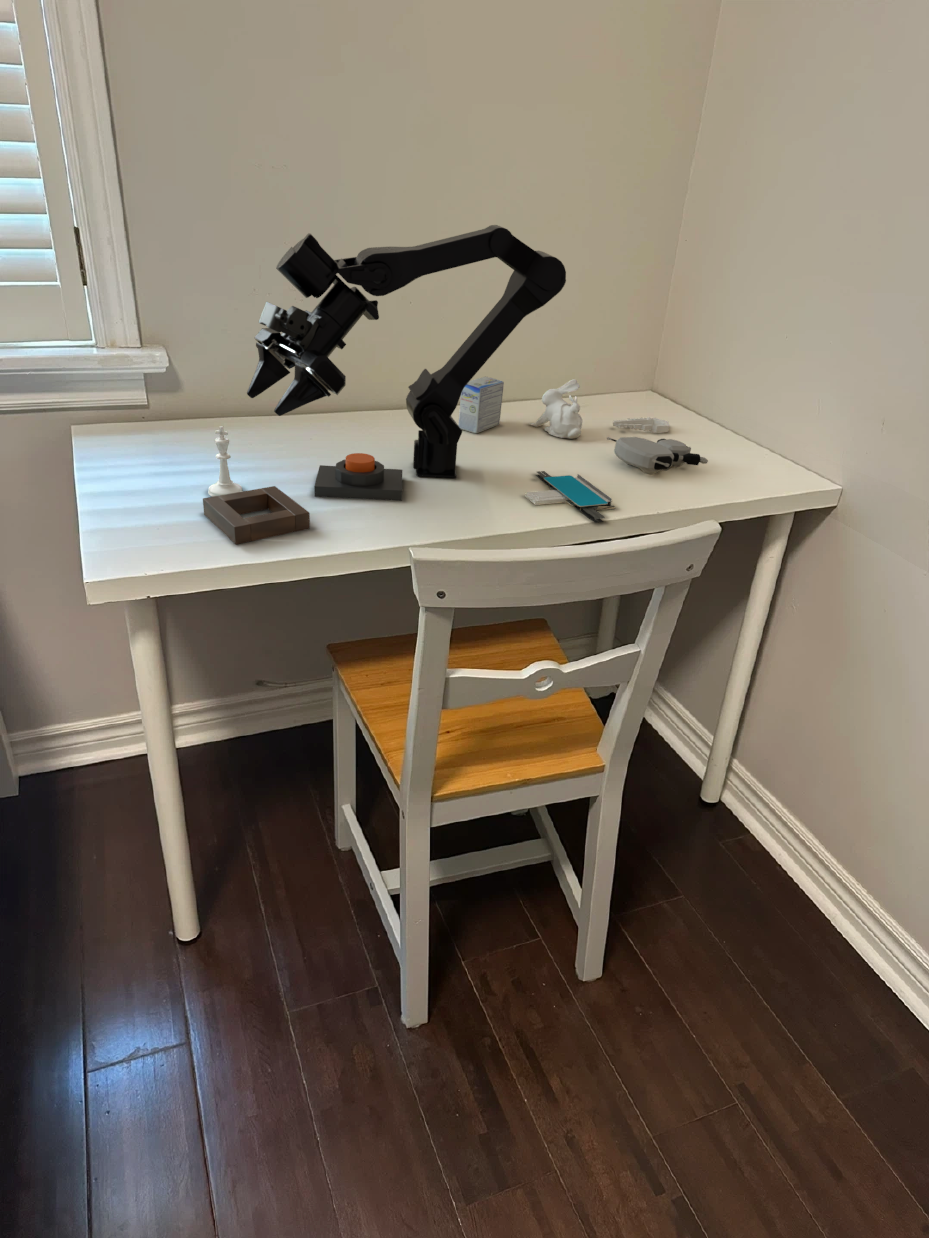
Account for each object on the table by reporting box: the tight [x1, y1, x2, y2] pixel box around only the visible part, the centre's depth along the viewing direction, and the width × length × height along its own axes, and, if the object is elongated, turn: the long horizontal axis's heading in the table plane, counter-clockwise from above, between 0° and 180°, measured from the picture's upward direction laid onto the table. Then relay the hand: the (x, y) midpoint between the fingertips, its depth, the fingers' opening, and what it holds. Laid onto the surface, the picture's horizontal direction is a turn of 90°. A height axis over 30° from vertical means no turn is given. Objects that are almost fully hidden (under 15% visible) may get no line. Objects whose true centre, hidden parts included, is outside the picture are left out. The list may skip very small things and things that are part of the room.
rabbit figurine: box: [529, 378, 584, 440], centre depth 163 cm, size 12×8×10 cm, turn 33°
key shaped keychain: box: [612, 416, 670, 434], centre depth 170 cm, size 13×5×2 cm, turn 113°
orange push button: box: [345, 452, 376, 473], centre depth 131 cm, size 4×4×2 cm
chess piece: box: [208, 425, 244, 497], centre depth 125 cm, size 5×5×10 cm
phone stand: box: [524, 470, 616, 524], centre depth 135 cm, size 20×12×2 cm, turn 22°
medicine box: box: [457, 376, 505, 434], centre depth 162 cm, size 8×4×9 cm, turn 144°
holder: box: [202, 485, 311, 545], centre depth 118 cm, size 11×11×2 cm
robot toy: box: [606, 436, 709, 475], centre depth 151 cm, size 12×4×15 cm
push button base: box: [313, 458, 403, 502], centre depth 132 cm, size 13×9×4 cm
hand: (262, 404), depth 124 cm, fingers open, 9 cm apart
